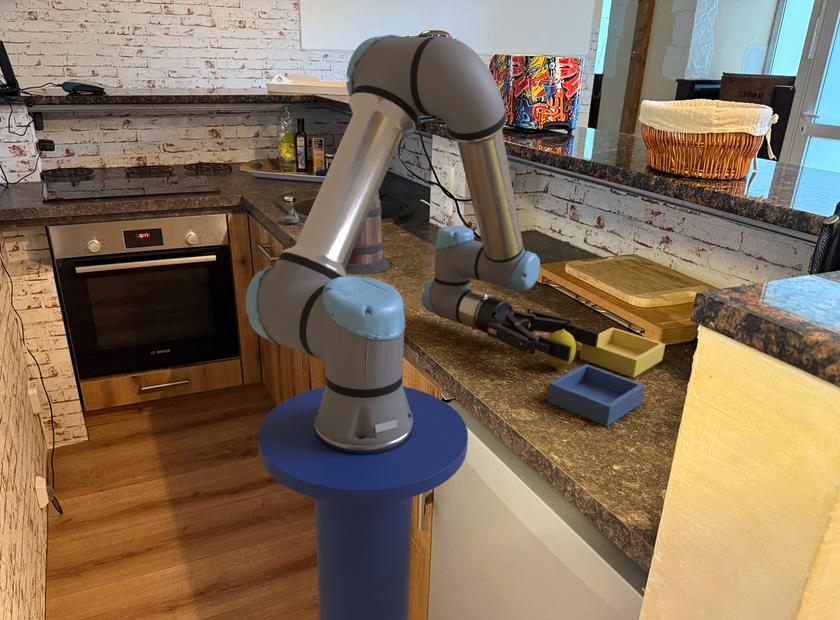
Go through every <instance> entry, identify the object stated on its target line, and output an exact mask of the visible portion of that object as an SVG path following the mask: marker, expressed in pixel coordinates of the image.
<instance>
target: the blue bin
mask: <svg viewBox="0 0 840 620" xmlns="http://www.w3.org/2000/svg"><path fill="white" fill-rule="evenodd" d="M645 386H646V385H645V384H643V383H640V382H637V381H634V380H632V379H629V378H627V377H624V376H621V375H618V374H615V373H612V372H611V371H607V370H604V369H602V368H598V367H596V366H593V365H590V364H588V363H585V364H583V365H580V366H578V367H576V368H574V369H573V370H571V371H569V372H567V373H566V374H564V375H562V376H560V377H558V378H556V379H554V380H552V381H550V382H549V383H548V390H547V397H546V398H547V399H546V402H548V403H550V404H552V405H554V406H557V407H559V408H562V409H565V410H567V411H569V412H571V413H573V414H576V415H578V416H581V417H583V418H586V419H588V420H590V421H592V422H594V423H598V424H599V425H602V426H604V427H609V426H610V425H611V424H613V423H614V422H617V420H619V419H621V418H622V417H623V416H625V415H626V414H628V413H630V412H631V411H633V410H634V409H635V408H637V407H638V406H640V405H642V402H643V398H644V391H645V388H646V387H645Z"/></svg>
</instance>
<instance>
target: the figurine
mask: <svg viewBox="0 0 840 620" xmlns="http://www.w3.org/2000/svg"><path fill="white" fill-rule="evenodd" d="M282 220H283V222H284V223H286V226H288V225H289V224H290V225H292V224H297V223H299V221H300V218H299V216H298V214H297V213H296V211H295V210H294V209H293V207H292V205H291V206H290V207H289V210H288V214H287V215H285V216H284V217H283V218H282Z"/></svg>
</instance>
